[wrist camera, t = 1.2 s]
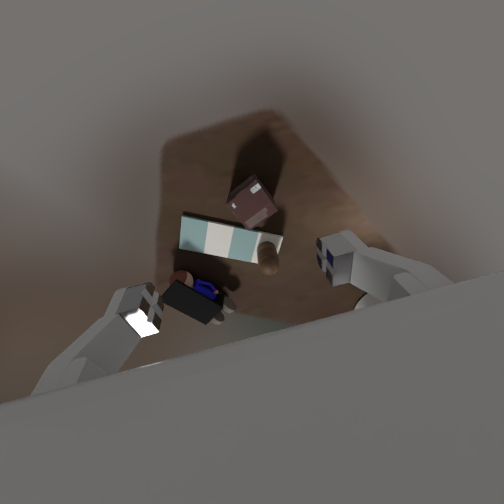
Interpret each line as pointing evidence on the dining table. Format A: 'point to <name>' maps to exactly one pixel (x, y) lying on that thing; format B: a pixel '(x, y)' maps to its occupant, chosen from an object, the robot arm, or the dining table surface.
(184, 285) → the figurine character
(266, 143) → the dining table surface
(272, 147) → the dining table surface
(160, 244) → the dining table surface
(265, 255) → the brown rounded cylinder
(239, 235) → the board
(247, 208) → the box
